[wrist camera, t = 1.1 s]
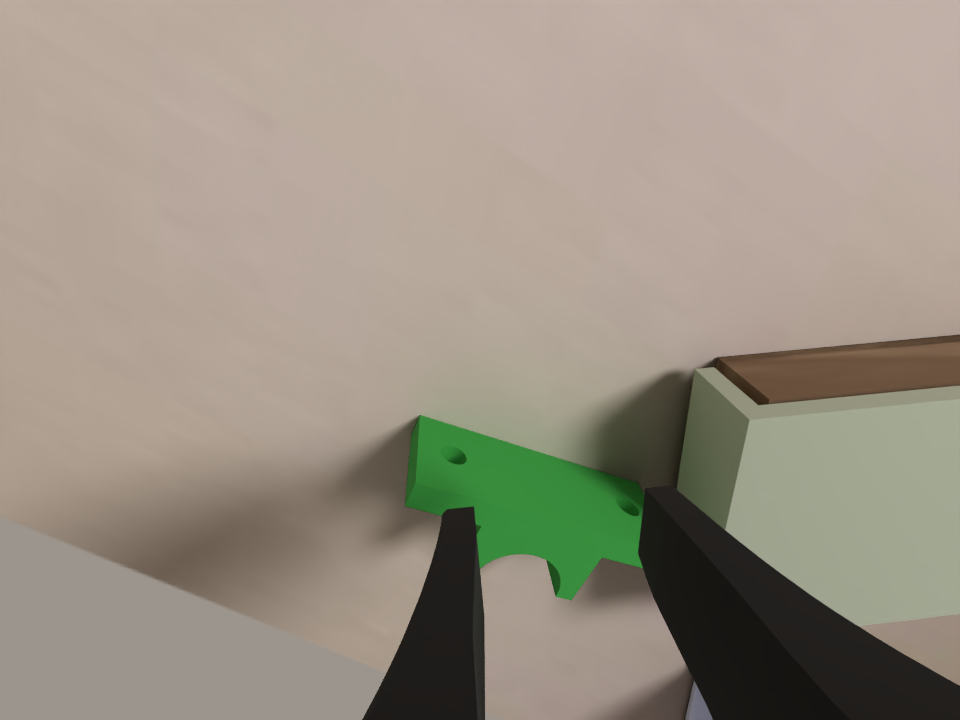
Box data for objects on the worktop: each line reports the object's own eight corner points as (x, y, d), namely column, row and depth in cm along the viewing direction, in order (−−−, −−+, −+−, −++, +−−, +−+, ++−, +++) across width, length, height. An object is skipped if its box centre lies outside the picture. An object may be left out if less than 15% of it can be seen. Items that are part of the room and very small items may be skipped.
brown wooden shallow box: (966, 526, 26) (1038, 581, 23) (682, 558, 25) (717, 618, 22) (1072, 324, 21) (1185, 358, 18) (717, 357, 20) (769, 399, 17)
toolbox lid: (992, 536, 25) (1134, 641, 20) (663, 574, 25) (723, 692, 19) (1108, 329, 20) (1342, 399, 15) (694, 368, 19) (789, 456, 14)
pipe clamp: (392, 476, 22) (380, 556, 18) (420, 411, 20) (414, 482, 16) (600, 535, 24) (632, 617, 20) (637, 481, 23) (680, 557, 19)
